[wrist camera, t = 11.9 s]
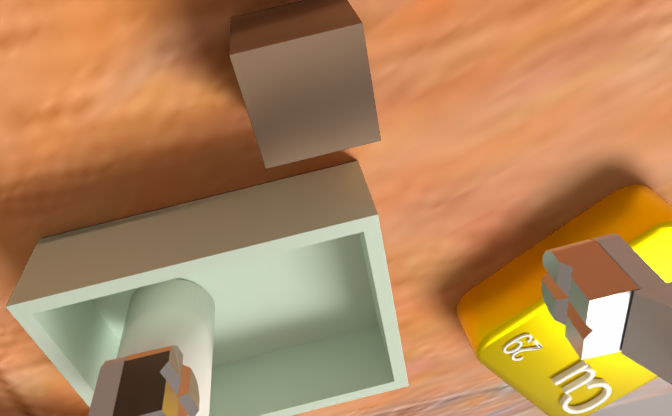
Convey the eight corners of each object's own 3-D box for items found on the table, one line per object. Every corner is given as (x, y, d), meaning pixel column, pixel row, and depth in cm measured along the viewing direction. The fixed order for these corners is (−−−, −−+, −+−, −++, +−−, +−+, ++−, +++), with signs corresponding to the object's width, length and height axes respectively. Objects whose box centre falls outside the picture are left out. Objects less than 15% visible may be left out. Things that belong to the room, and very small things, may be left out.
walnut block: (231, 17, 23) (229, 55, 19) (340, -10, 23) (362, 22, 19) (261, 117, 26) (265, 168, 22) (359, 93, 26) (380, 140, 22)
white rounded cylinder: (198, 270, 30) (188, 371, 24) (226, 325, 33) (222, 427, 27) (114, 290, 30) (84, 397, 24) (149, 344, 33) (130, 450, 27)
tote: (39, 239, 28) (5, 306, 24) (358, 160, 28) (377, 214, 24) (142, 386, 36) (130, 456, 32) (389, 324, 36) (408, 385, 32)
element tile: (707, 285, 40) (757, 333, 36) (539, 384, 44) (568, 436, 40) (638, 168, 32) (693, 213, 28) (442, 302, 36) (466, 358, 33)
